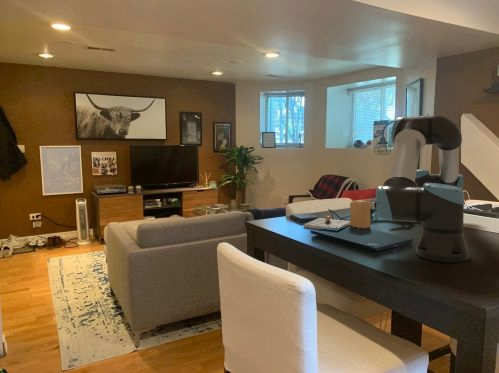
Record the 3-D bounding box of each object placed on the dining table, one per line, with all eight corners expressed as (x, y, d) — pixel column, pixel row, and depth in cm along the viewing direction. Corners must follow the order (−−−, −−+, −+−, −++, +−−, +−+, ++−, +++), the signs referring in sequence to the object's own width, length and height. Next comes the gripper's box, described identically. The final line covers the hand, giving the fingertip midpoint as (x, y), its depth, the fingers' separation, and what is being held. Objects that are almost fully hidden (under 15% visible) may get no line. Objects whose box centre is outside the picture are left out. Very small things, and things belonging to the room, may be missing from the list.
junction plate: (338, 231, 154) (338, 221, 154) (303, 227, 164) (303, 217, 163) (351, 224, 167) (351, 214, 167) (319, 220, 176) (319, 211, 176)
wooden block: (370, 227, 161) (370, 201, 159) (360, 229, 158) (360, 202, 156) (359, 224, 166) (359, 199, 165) (350, 226, 163) (350, 201, 162)
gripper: (430, 215, 166) (398, 221, 156) (385, 207, 187) (355, 212, 177) (430, 198, 165) (399, 204, 155) (385, 193, 187) (355, 197, 176)
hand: (375, 208), depth 166 cm, fingers open, 13 cm apart
